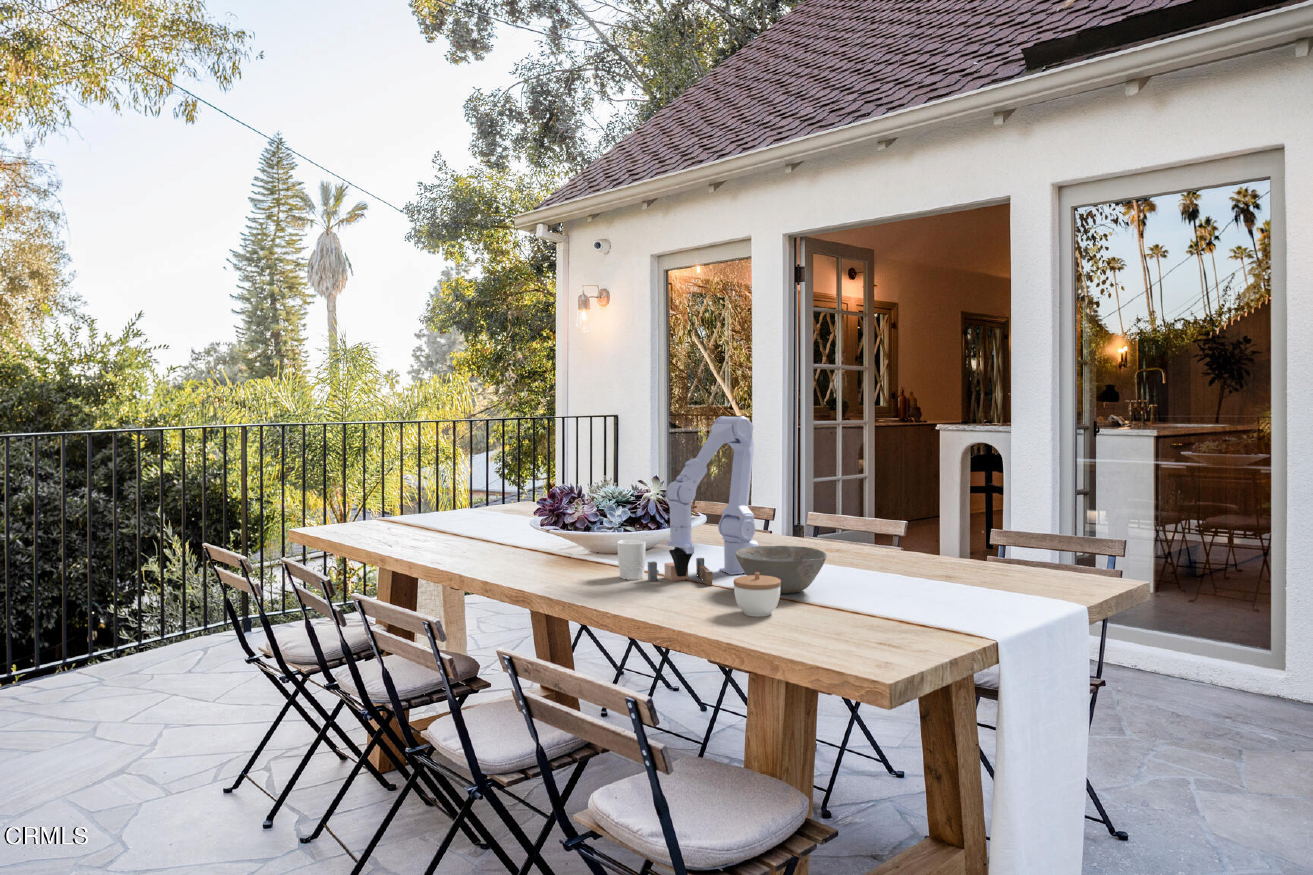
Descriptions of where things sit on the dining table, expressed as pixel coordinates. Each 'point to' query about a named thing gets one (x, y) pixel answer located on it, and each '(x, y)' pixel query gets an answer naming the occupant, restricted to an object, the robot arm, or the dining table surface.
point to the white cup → (631, 559)
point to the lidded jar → (757, 594)
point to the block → (673, 572)
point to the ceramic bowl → (783, 564)
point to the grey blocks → (654, 572)
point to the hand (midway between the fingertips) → (681, 575)
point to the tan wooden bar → (706, 575)
